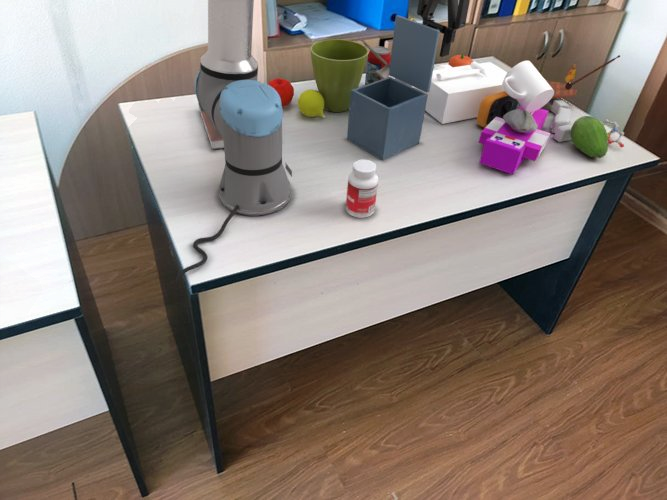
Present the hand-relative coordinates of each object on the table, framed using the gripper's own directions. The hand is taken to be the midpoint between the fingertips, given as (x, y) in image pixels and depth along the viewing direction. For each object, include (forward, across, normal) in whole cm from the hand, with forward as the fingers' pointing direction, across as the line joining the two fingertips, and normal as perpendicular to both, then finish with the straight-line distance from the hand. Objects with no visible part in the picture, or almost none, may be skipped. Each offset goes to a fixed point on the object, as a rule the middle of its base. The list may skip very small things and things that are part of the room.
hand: (434, 51), depth 131 cm
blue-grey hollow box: (+20, 0, +15) cm, 25 cm away
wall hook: (+22, +16, -12) cm, 30 cm away
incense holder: (+17, -14, -45) cm, 50 cm away
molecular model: (+18, -39, -37) cm, 57 cm away
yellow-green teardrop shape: (+15, +25, +20) cm, 36 cm away
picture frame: (+20, +28, +40) cm, 53 cm away
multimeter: (+16, -10, -20) cm, 27 cm away
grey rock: (+14, -24, -7) cm, 28 cm away
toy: (+18, -18, -25) cm, 36 cm away
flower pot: (+20, +21, +12) cm, 31 cm away
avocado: (+14, -30, -26) cm, 42 cm away
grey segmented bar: (+18, -22, -29) cm, 41 cm away
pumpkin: (+20, +14, -35) cm, 43 cm away
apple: (+20, +31, +24) cm, 44 cm away
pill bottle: (+20, -17, +40) cm, 48 cm away
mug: (+10, -22, -17) cm, 29 cm away
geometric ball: (+15, +14, -25) cm, 32 cm away
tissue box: (+20, 0, -19) cm, 27 cm away
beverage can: (+20, +23, -6) cm, 31 cm away
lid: (-1, 0, +9) cm, 9 cm away
